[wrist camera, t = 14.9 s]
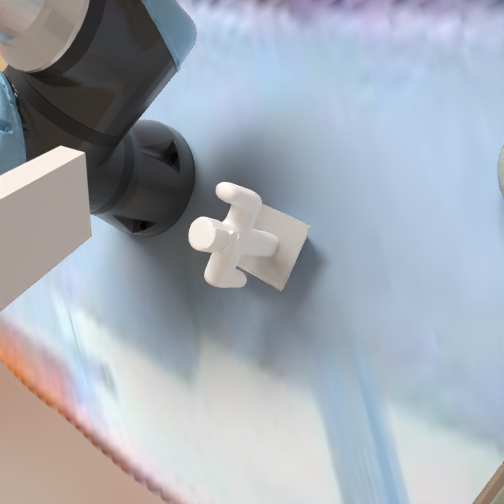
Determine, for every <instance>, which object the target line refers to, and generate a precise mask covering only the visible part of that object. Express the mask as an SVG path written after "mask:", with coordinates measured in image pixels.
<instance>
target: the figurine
mask: <svg viewBox="0 0 504 504" xmlns="http://www.w3.org/2000/svg"><path fill="white" fill-rule="evenodd" d="M216 194H217V196H218V197H219V198H220V199H221V200H223V201H225V202H227V203H231V208H230V210H229V213H228V215H227V217H226V219H225V220H224V221H222V222H220V221H219V220H216V219H212V218H208V217H199V218H197V219H196V220H195V221H194V222H193V223H192V224H191V226H190V229H189V235H188V236H189V242H190V244H191V246H192V247H193V248H194V249H195V250H198V251H204V252H212V255H211V257H210V259H209V262H208V264H207V267H206V269H205V273H204V277H205V280H206V281H207V282H208V283H209V284H211V285H213V286H215V287H221V288H230V287H242V286H244V285H245V284H246V282H247V278H246V276H245V274H244V273H243V272H241V271H240V270H237V269H236V266H238V267H240V268H242V269H243V270H245V271H247V272H249V273H250V274H252V275H254V276H256V277H257V278H259V279H261V280H263V281H264V282H266V283H268V284H270V285H271V286H273V287H275V288H277V289H278V290H280V291H282V289H283V287H284V285H285V283H286V282H287V280H288V278H289V276H290V274H291V272H292V269H293V267H294V265H295V263H296V260H297V258H298V256H299V254H300V251H301V249H302V247H303V245H304V242H305V240H306V238H307V235H308V232H309V229H310V225H308V224H306V223H304V222H302V221H299V220H297V219H295V218H293V217H291V216H289V215H286V214H284V213H282V212H280V211H278V210H276V209H274V208H271V207H269V206H267V205H265V204H263V203H262V200H261V197H260V196H259V195H258V194H257V193H255V192H254V191H252V190H249V189H247V188H244V187H241V186H238V185H235V184H233V183H229V182H221V183H219V184H218V185H217V187H216Z"/></svg>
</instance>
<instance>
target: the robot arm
mask: <svg viewBox="0 0 504 504" xmlns="http://www.w3.org/2000/svg"><path fill="white" fill-rule="evenodd" d="M196 35H197V32H196V26H195V24H194V22H193V20H192V19H191V18H190V16H189V15H188V14H187V13H186V12H185V11H184V9H183V8H182V7H181V6H180V5H179V4H178V2H177V1H176V0H0V54H1V56H2V57H3V59H4V60H5V61H6V62H7V63H8V66H7V68H6V69H5V70H4V71H3V72H1V71H0V311H2V310H3V309H4V308H5V307H7V306H8V305H9V304H10V303H11V302H13V301H14V300H15V299H16V298H17V297H19V296H20V295H21V294H22V293H23V292H25V291H26V290H27V289H28V288H30V287H31V286H32V285H33V284H34V283H36V282H37V281H38V280H39V279H40V278H42V277H43V276H44V275H45V274H46V273H48V272H49V271H50V270H51V269H53V268H54V267H55V266H56V265H57V264H59V263H60V262H61V261H62V260H63V259H65V258H66V257H67V256H68V255H69V254H71V253H72V252H73V251H74V250H75V249H77V248H78V247H79V246H80V245H82V244H83V243H84V242H85V241H86V240H88V239H89V238H90V237H91V236H92V234H91V221H90V214H92V215H95V216H97V217H98V218H100V219H102V220H104V221H105V222H107V223H109V224H110V225H112V226H114V227H116V228H117V229H119V230H121V231H123V232H126V233H129V234H134V235H142V236H151V235H156V234H159V233H161V232H163V231H165V230H166V229H168V228H169V227H170V226H172V225H173V224H174V223H175V222H176V221H177V220H178V218H179V217H180V216H181V214H182V213H183V211H184V209H185V207H186V205H187V203H188V201H189V198H190V195H191V192H192V188H193V181H194V164H193V158H192V154H191V151H190V149H189V146H188V144H187V142H186V141H185V139H184V138H183V137H182V136H181V134H180V133H178V132H177V131H176V130H175V129H173V128H171V127H169V126H167V125H164V124H162V123H160V122H157V121H153V120H138V119H139V118H140V117H141V115H142V114H143V113H144V112H145V110H146V109H147V108H148V107H149V105H150V104H151V103H152V102H153V100H154V99H155V98H156V97H157V96H158V94H159V93H160V92H161V91H162V89H163V88H164V87H165V86H166V84H167V83H168V82H169V81H170V79H171V78H172V77H173V76H174V75H175V73H176V72H178V71H179V69H180V67H181V66H180V65H181V64H182V62H183V61H184V59H185V58H186V56H187V55H188V53H189V52H190V50H191V49H192V47H193V46H194V44H195V41H196Z"/></svg>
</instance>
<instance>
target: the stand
mask: <svg viewBox="0 0 504 504" xmlns="http://www.w3.org/2000/svg"><path fill="white" fill-rule="evenodd" d="M473 504H504V462H503V463H502V465H501V466H500V467H499V469H498V470H497V471H496V473H495V474H494V475H493V477H492V478H491V480H490V481H489V482H488V484H487V485H486V486H485V488H484V489H483V490H482V492H481V493H480V494H479V496H478V497H477V498H476V500H475V501H474V502H473Z"/></svg>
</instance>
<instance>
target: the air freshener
mask: <svg viewBox="0 0 504 504" xmlns="http://www.w3.org/2000/svg"><path fill="white" fill-rule="evenodd" d="M498 181H499V187H500V190H501V192H502V195H503V197H504V145H503V147H502V150H501V152H500V156H499V161H498Z"/></svg>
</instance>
